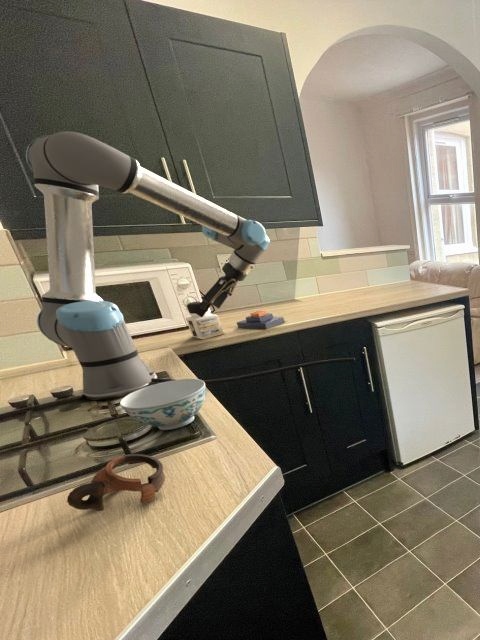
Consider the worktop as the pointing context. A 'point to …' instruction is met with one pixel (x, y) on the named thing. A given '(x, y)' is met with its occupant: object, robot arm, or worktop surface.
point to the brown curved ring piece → (117, 483)
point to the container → (203, 323)
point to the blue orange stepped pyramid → (260, 322)
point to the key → (258, 313)
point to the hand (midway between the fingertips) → (207, 310)
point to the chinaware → (166, 403)
